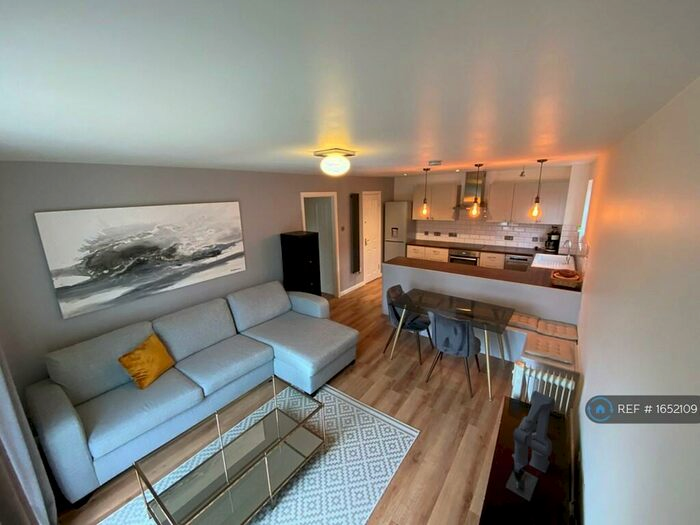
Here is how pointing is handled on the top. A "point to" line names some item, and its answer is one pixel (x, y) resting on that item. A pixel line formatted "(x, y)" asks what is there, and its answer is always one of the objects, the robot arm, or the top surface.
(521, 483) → the end plug
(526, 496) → the socket block
